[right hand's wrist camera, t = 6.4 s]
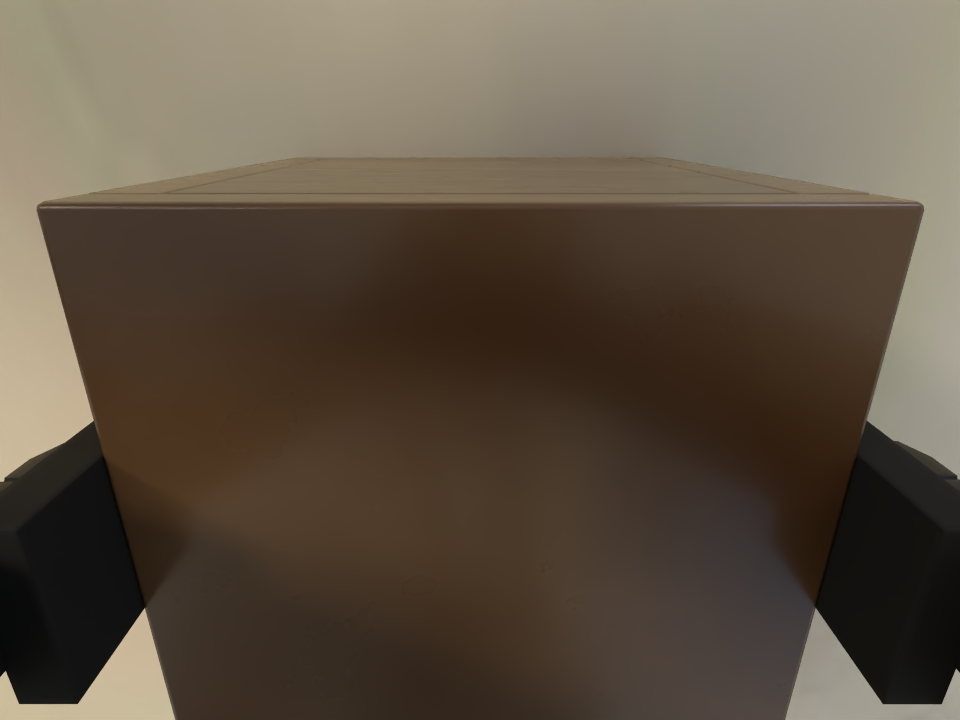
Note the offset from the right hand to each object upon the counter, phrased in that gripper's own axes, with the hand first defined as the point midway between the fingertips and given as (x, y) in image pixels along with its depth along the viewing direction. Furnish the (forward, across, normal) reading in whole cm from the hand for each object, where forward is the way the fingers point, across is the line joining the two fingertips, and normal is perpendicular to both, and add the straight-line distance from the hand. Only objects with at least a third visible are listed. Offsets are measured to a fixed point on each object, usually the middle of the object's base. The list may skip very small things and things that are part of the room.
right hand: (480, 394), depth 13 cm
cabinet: (+5, 0, -5) cm, 7 cm away
